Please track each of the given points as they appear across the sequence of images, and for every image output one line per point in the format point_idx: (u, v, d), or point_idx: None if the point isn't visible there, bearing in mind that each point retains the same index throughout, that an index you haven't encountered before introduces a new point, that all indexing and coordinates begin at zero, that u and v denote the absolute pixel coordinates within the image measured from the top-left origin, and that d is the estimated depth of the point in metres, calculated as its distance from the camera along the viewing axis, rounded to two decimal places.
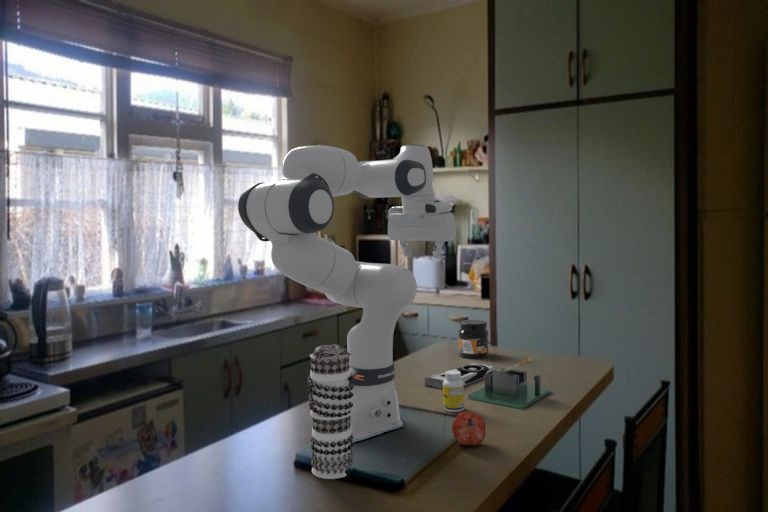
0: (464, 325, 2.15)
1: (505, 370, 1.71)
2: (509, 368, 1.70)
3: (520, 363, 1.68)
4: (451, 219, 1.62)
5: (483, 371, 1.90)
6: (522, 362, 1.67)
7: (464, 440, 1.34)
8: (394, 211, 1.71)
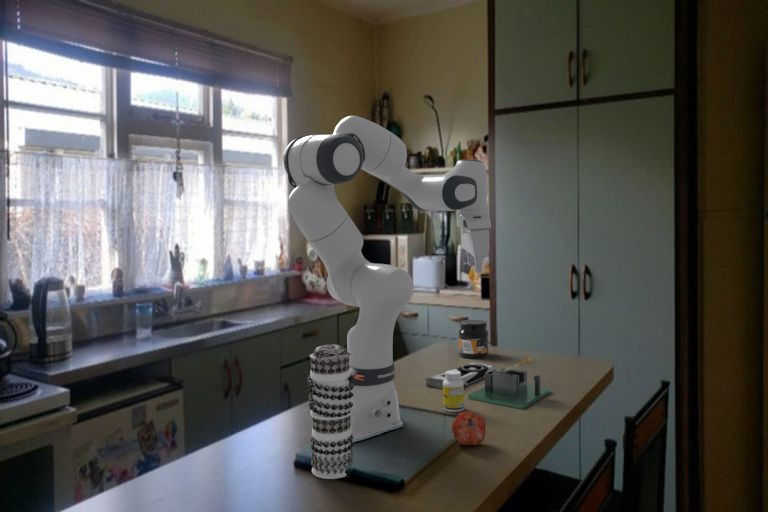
0: (464, 325, 2.15)
1: (505, 370, 1.71)
2: (509, 368, 1.70)
3: (520, 363, 1.68)
4: (483, 237, 1.61)
5: (483, 371, 1.90)
6: (522, 362, 1.67)
7: (464, 440, 1.34)
8: None
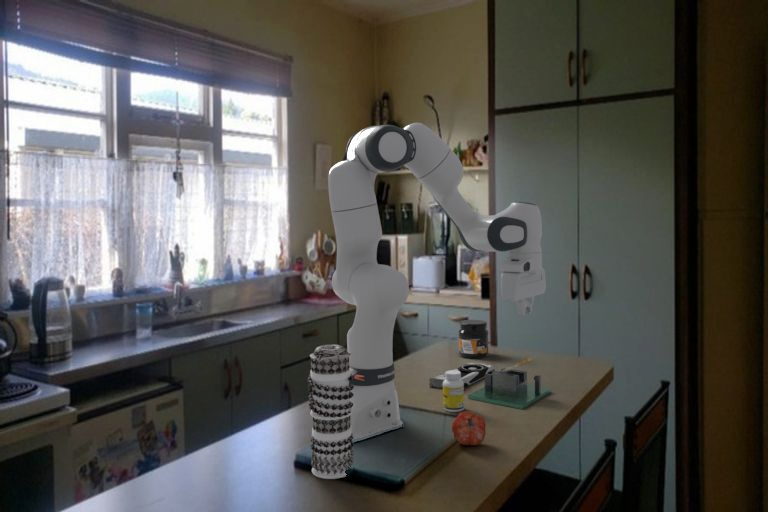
0: (464, 325, 2.15)
1: (505, 370, 1.71)
2: (509, 368, 1.70)
3: (520, 363, 1.68)
4: (511, 280, 1.58)
5: (484, 370, 1.90)
6: (522, 362, 1.67)
7: (464, 440, 1.34)
8: None
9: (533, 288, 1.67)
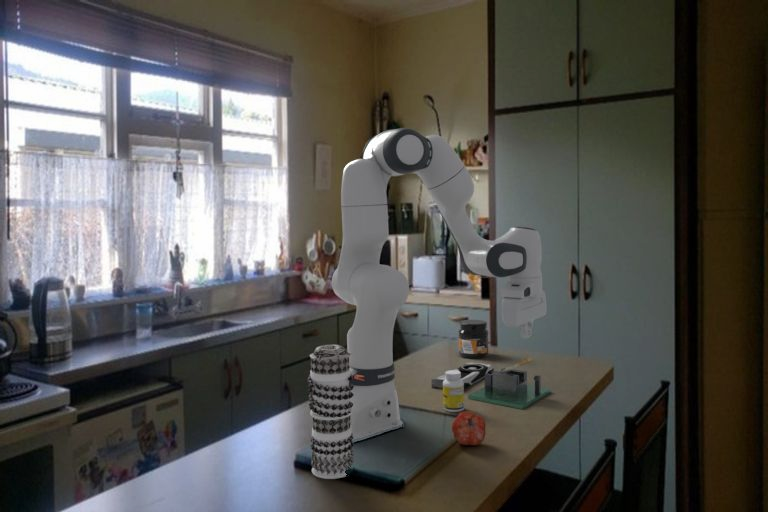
0: (464, 325, 2.15)
1: (505, 370, 1.71)
2: (509, 368, 1.70)
3: (520, 363, 1.68)
4: (511, 306, 1.59)
5: (484, 370, 1.91)
6: (522, 362, 1.67)
7: (464, 440, 1.34)
8: None
9: (534, 311, 1.67)
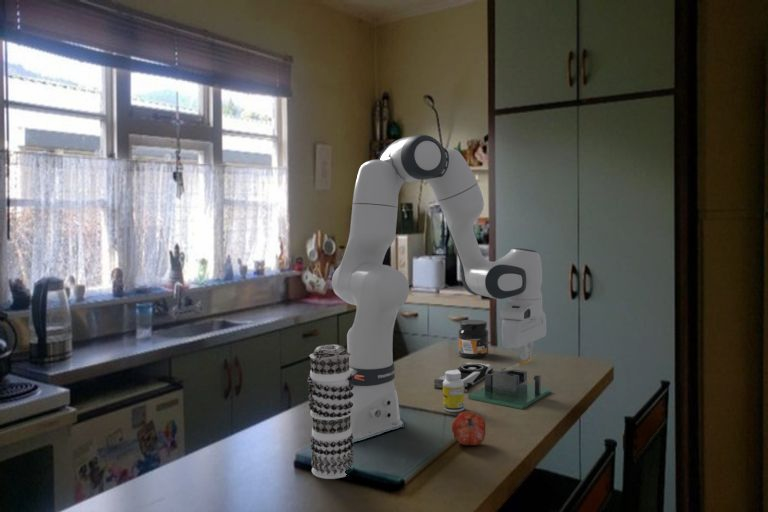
0: (464, 325, 2.15)
1: (505, 370, 1.71)
2: (509, 368, 1.70)
3: (520, 363, 1.68)
4: (512, 328, 1.59)
5: (484, 370, 1.91)
6: (522, 362, 1.67)
7: (464, 440, 1.34)
8: None
9: (534, 333, 1.68)
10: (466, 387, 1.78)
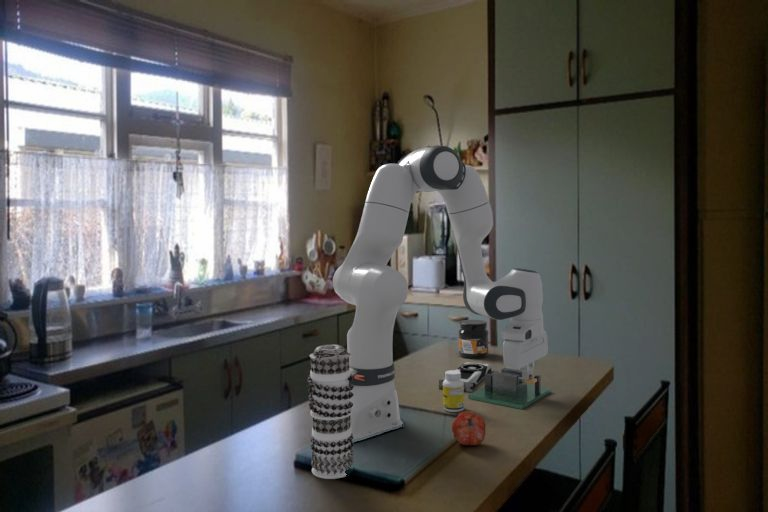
0: (464, 325, 2.15)
1: None
2: None
3: (525, 380, 1.67)
4: (513, 349, 1.60)
5: (484, 369, 1.92)
6: (527, 381, 1.67)
7: (464, 440, 1.34)
8: None
9: (535, 352, 1.68)
10: (471, 387, 1.78)
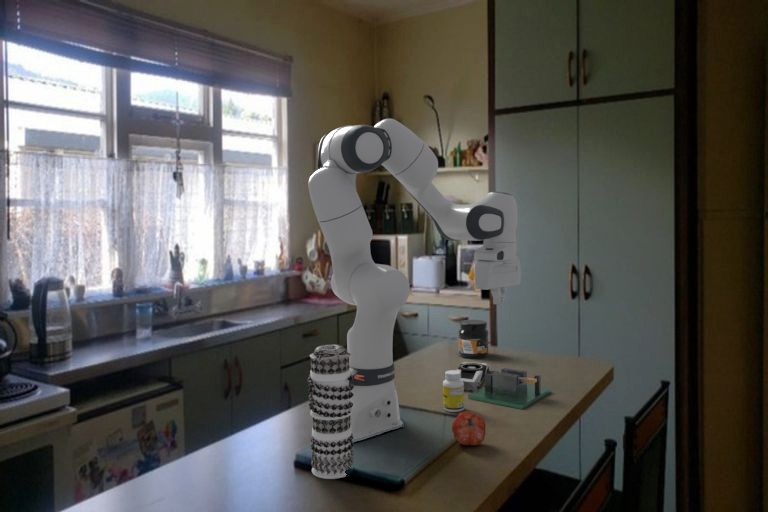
0: (464, 325, 2.15)
1: None
2: None
3: (525, 381, 1.67)
4: (484, 268, 1.60)
5: (484, 368, 1.92)
6: (527, 381, 1.67)
7: (464, 440, 1.34)
8: None
9: (507, 278, 1.68)
10: (477, 387, 1.78)
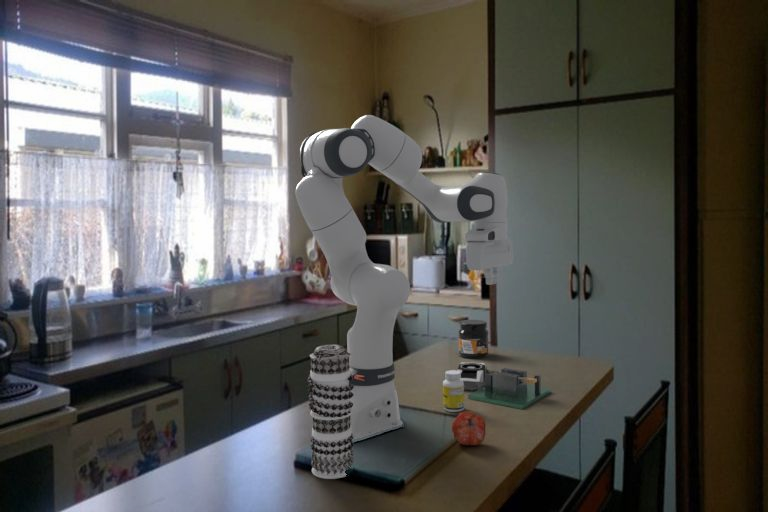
0: (464, 325, 2.15)
1: None
2: None
3: (525, 381, 1.67)
4: (475, 249, 1.60)
5: (484, 368, 1.93)
6: (527, 381, 1.67)
7: (464, 440, 1.34)
8: None
9: (499, 258, 1.68)
10: None
